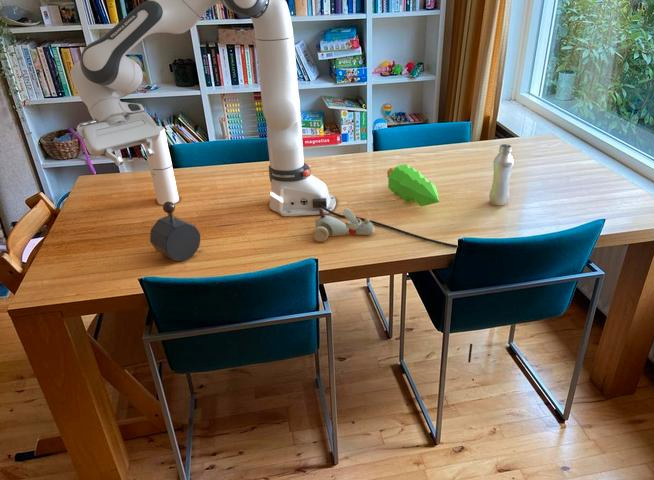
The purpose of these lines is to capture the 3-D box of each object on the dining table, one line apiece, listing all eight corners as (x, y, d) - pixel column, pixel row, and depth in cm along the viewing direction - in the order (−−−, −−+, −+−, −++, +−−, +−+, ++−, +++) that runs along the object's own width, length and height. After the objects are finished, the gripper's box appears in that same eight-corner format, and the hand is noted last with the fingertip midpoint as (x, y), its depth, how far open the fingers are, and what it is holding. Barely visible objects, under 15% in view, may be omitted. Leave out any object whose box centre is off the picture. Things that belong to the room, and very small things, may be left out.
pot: (154, 258, 156) (141, 204, 147) (187, 243, 163) (177, 191, 155) (169, 267, 152) (157, 213, 143) (203, 251, 159) (194, 199, 150)
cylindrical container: (172, 205, 186) (157, 133, 173) (153, 204, 187) (136, 132, 174) (182, 197, 192) (168, 126, 179) (163, 195, 193) (148, 125, 180)
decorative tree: (399, 152, 193) (448, 178, 169) (409, 178, 200) (457, 206, 176) (373, 169, 191) (418, 197, 168) (384, 195, 198) (429, 226, 175)
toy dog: (377, 237, 166) (377, 210, 161) (319, 249, 159) (317, 222, 155) (361, 220, 175) (361, 194, 170) (305, 231, 169) (304, 205, 164)
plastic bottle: (509, 201, 186) (518, 144, 176) (505, 209, 181) (513, 150, 170) (491, 198, 189) (498, 141, 178) (486, 205, 183) (493, 148, 173)
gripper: (75, 118, 142) (102, 164, 142) (147, 103, 155) (171, 145, 155) (71, 130, 146) (97, 175, 146) (141, 115, 160) (165, 156, 160)
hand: (136, 159), depth 151 cm, fingers open, 8 cm apart
